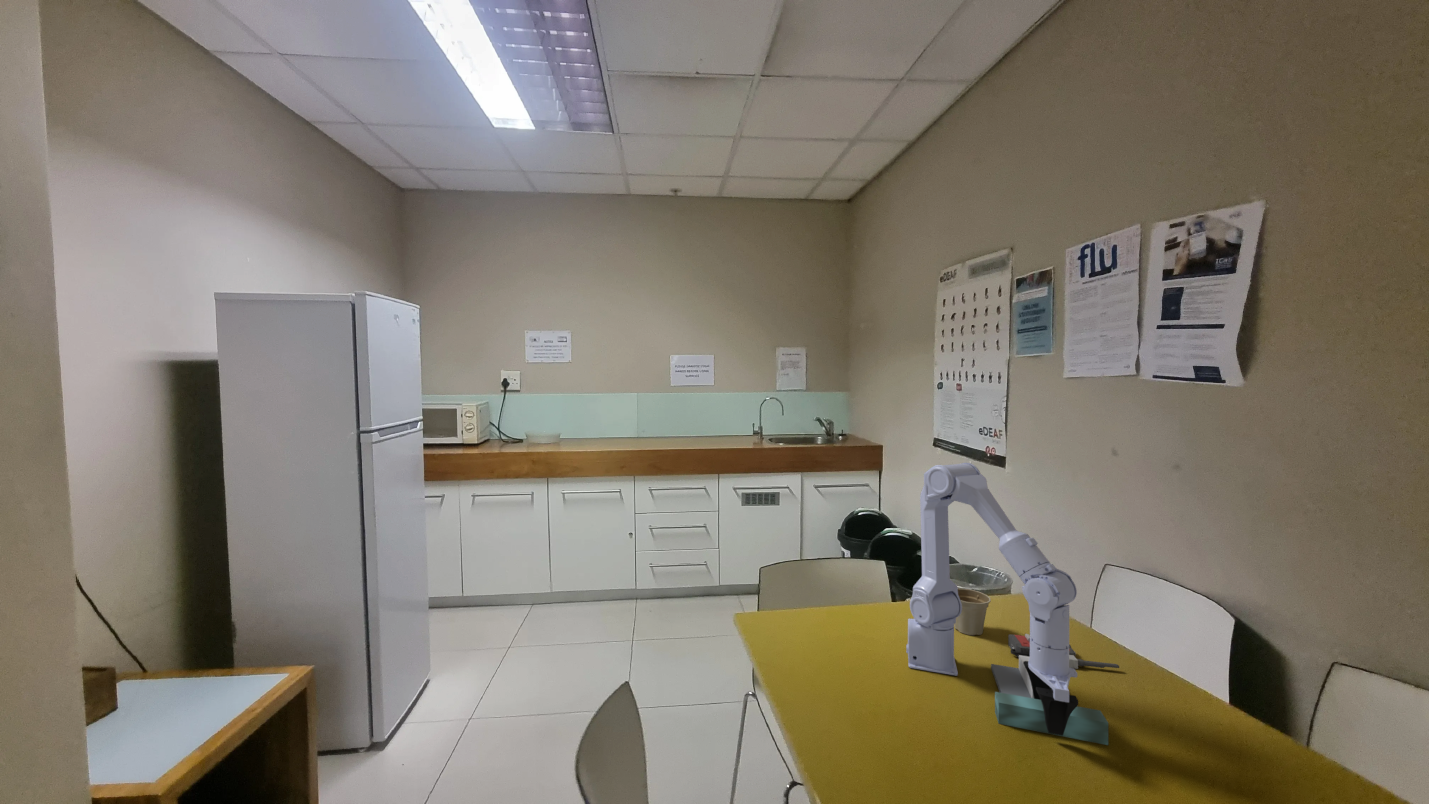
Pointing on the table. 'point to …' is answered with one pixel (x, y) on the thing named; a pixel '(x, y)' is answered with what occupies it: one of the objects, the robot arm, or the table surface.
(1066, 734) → the teal bar
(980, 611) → the flower pot
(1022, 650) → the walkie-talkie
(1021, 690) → the stand
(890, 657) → the table surface
